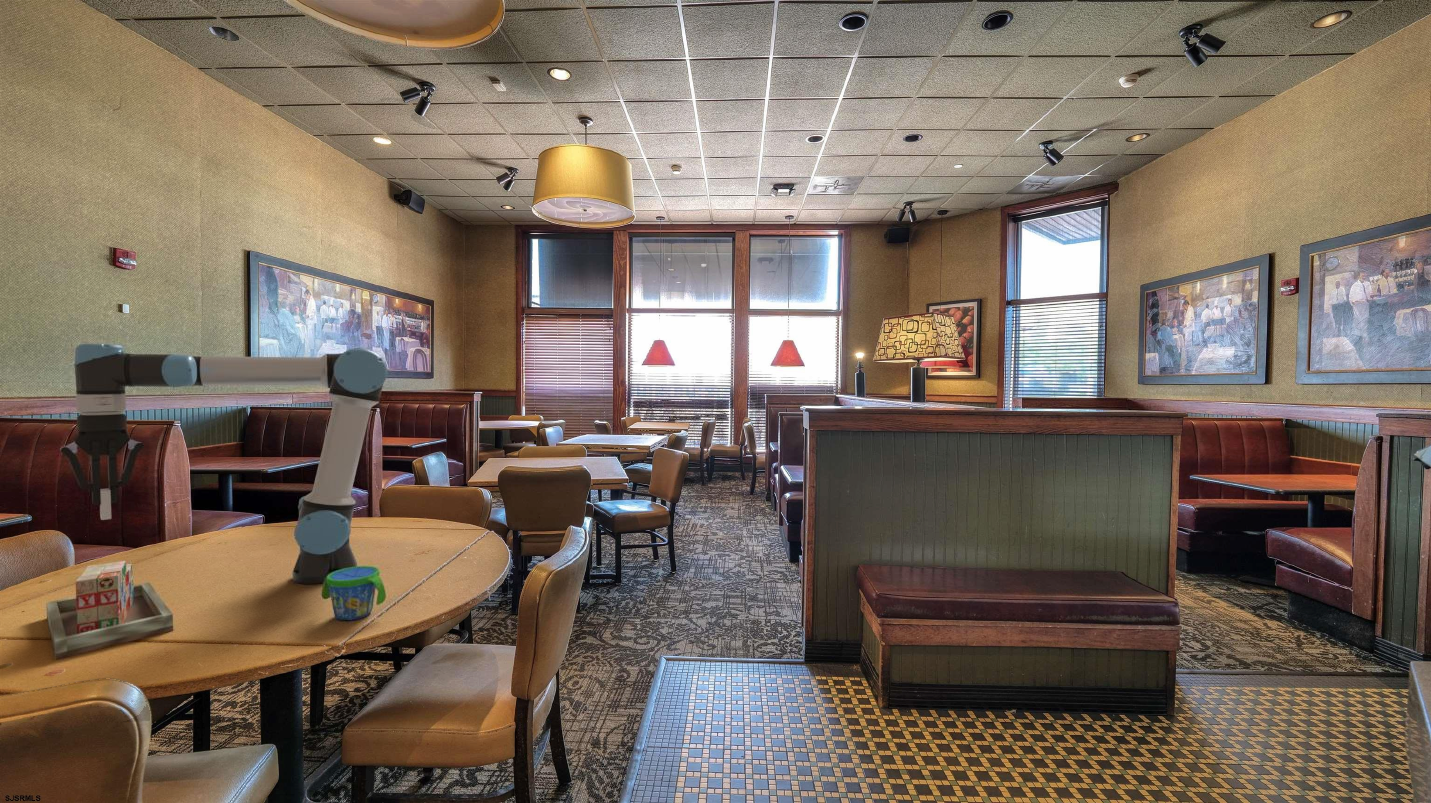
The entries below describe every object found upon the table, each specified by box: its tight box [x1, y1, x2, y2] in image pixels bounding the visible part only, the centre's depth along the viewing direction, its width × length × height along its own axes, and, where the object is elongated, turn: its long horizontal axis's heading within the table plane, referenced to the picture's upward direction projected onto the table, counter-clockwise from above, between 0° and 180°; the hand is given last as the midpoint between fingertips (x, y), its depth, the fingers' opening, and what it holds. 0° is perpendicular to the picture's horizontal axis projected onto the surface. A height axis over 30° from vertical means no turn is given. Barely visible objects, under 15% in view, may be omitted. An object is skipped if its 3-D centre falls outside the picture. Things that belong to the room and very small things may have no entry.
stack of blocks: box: [75, 560, 135, 634], centre depth 129 cm, size 21×6×12 cm, turn 39°
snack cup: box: [321, 565, 387, 621], centre depth 135 cm, size 16×10×10 cm
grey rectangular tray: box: [45, 582, 174, 660], centre depth 129 cm, size 17×31×4 cm, turn 52°
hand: (105, 518), depth 128 cm, fingers closed
